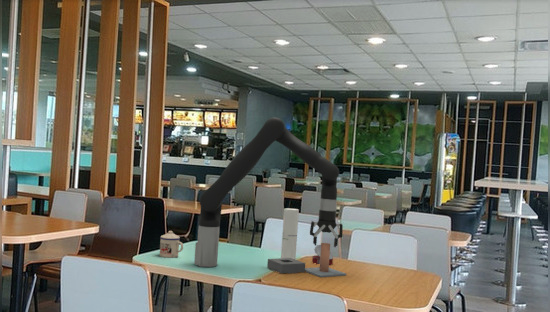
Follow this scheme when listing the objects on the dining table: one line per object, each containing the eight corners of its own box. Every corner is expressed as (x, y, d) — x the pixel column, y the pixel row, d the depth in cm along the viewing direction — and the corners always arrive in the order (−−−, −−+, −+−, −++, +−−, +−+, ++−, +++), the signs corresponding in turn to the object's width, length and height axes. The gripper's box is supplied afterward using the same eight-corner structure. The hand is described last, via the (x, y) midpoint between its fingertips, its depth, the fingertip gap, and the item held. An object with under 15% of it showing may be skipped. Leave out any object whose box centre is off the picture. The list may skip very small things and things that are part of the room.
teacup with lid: (154, 256, 235) (156, 230, 235) (166, 253, 243) (168, 229, 244) (176, 259, 230) (178, 233, 230) (187, 256, 238) (189, 232, 239)
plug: (323, 272, 220) (324, 244, 220) (317, 270, 223) (319, 243, 223) (330, 271, 222) (332, 244, 222) (324, 269, 225) (326, 242, 226)
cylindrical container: (295, 262, 241) (299, 210, 242) (280, 261, 241) (284, 209, 242) (295, 259, 248) (298, 209, 249) (280, 258, 249) (284, 208, 249)
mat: (320, 277, 213) (320, 275, 213) (301, 270, 225) (301, 268, 225) (346, 275, 220) (346, 273, 220) (326, 268, 232) (326, 266, 232)
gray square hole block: (281, 273, 215) (282, 264, 215) (267, 268, 225) (267, 258, 225) (304, 272, 221) (305, 263, 221) (289, 266, 231) (290, 257, 231)
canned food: (327, 271, 249) (337, 254, 250) (327, 273, 239) (338, 255, 240) (307, 259, 250) (317, 241, 251) (307, 260, 240) (318, 242, 241)
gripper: (312, 208, 219) (309, 246, 219) (344, 211, 219) (342, 248, 219) (311, 207, 227) (308, 243, 227) (343, 209, 226) (340, 246, 226)
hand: (325, 246), depth 223 cm, fingers open, 8 cm apart
